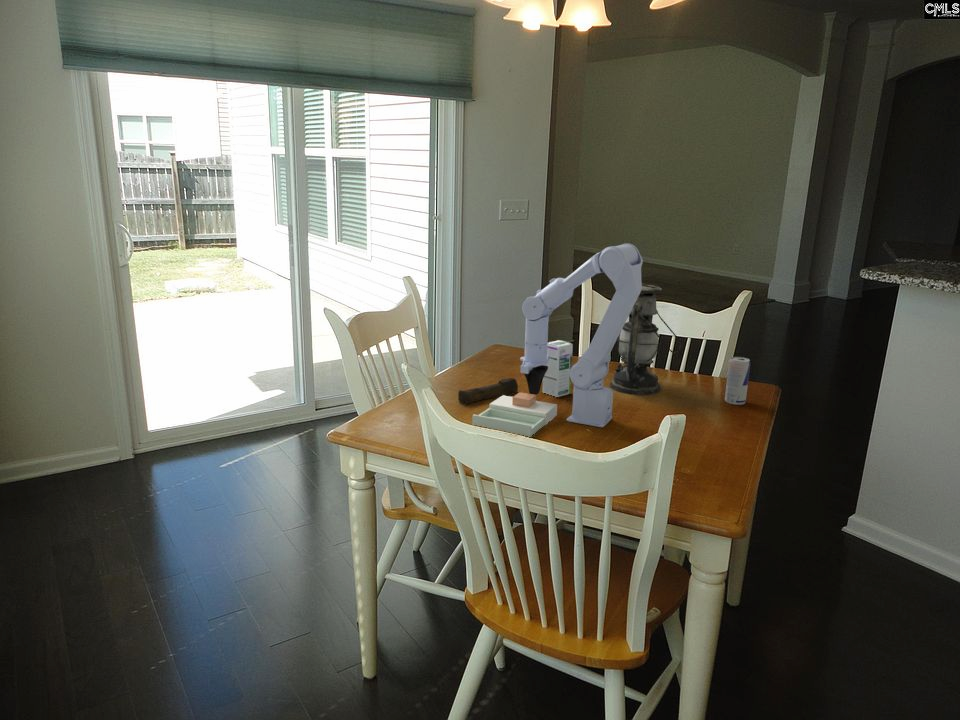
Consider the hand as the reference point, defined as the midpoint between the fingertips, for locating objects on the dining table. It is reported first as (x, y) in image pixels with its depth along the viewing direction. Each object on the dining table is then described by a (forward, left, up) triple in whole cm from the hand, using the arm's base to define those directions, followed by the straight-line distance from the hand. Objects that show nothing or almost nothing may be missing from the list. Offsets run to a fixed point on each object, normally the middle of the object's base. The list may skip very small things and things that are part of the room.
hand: (534, 393), depth 182 cm
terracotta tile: (0, +7, -1) cm, 7 cm away
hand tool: (+14, -2, -4) cm, 15 cm away
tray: (0, +16, -4) cm, 16 cm away
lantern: (-21, -31, -4) cm, 38 cm away
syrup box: (-1, -14, -4) cm, 15 cm away
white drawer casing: (0, +7, -4) cm, 8 cm away
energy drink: (-46, -31, -4) cm, 56 cm away
